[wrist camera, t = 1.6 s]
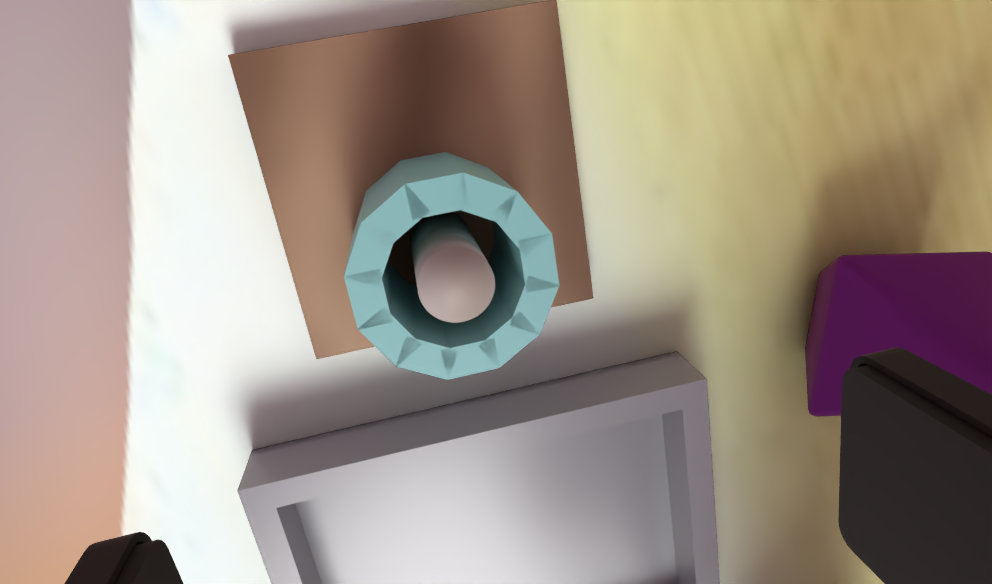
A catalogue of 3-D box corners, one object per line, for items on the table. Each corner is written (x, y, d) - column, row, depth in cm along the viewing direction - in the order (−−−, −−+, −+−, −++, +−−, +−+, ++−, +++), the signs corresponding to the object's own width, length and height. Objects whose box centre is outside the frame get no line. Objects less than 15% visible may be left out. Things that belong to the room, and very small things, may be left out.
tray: (676, 351, 30) (706, 378, 28) (697, 607, 36) (724, 652, 33) (252, 450, 28) (237, 490, 26) (340, 706, 34) (336, 763, 31)
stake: (549, 2, 25) (615, -30, 18) (586, 291, 29) (652, 359, 22) (234, 55, 23) (169, 45, 16) (318, 349, 27) (296, 441, 20)
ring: (505, 140, 25) (541, 156, 19) (536, 328, 28) (574, 390, 22) (337, 172, 24) (323, 199, 19) (385, 361, 27) (385, 435, 21)
